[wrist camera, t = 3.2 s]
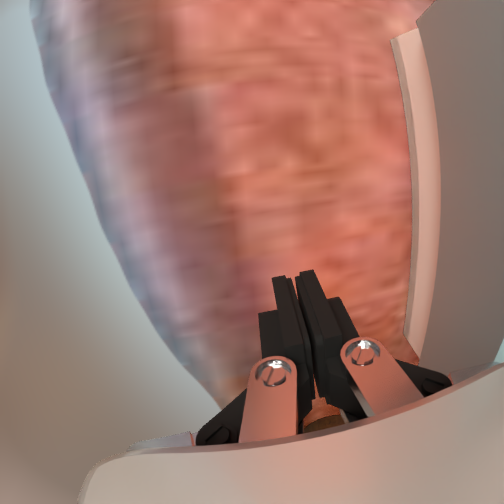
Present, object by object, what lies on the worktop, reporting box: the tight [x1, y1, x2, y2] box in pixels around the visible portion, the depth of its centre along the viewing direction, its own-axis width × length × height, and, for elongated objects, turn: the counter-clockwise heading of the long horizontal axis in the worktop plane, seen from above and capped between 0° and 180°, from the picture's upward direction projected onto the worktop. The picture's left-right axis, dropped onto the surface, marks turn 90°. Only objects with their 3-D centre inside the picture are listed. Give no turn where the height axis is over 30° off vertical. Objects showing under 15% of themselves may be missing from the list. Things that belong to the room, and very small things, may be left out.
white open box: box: [390, 28, 441, 359], centre depth 16 cm, size 24×9×5 cm, turn 12°
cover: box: [416, 0, 504, 375], centre depth 10 cm, size 24×9×1 cm
